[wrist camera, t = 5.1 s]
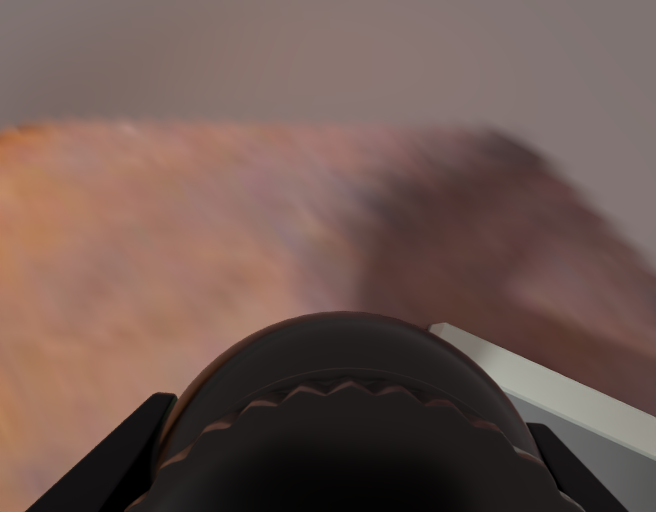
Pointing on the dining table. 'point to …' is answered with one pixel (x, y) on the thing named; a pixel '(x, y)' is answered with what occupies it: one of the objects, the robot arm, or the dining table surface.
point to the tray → (574, 418)
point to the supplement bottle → (345, 428)
